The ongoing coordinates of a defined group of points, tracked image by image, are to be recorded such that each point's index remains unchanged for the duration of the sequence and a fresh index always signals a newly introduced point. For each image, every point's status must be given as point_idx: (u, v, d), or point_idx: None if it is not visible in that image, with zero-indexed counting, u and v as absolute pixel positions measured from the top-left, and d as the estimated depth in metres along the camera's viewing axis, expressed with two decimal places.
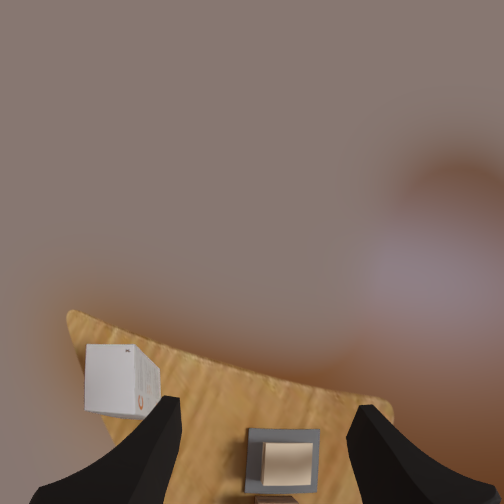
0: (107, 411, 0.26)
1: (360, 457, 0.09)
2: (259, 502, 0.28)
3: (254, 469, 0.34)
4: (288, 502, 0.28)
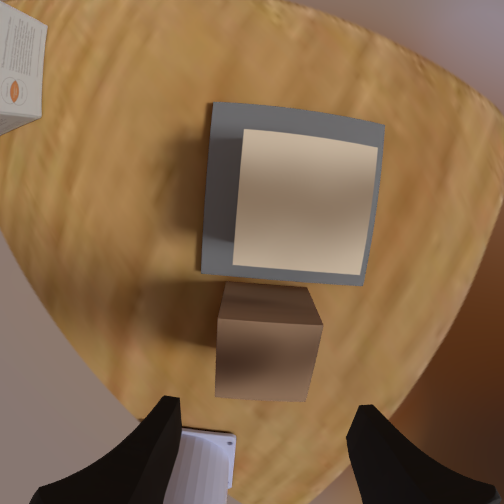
0: None
1: (360, 457, 0.09)
2: (222, 314, 0.15)
3: (223, 212, 0.17)
4: (297, 320, 0.15)
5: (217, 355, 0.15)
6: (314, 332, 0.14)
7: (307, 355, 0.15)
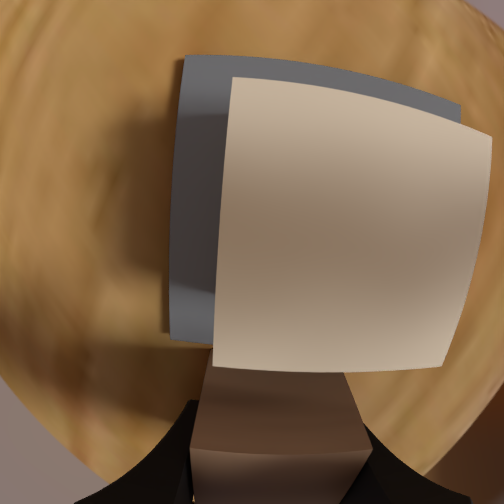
0: None
1: None
2: (198, 436, 0.07)
3: (202, 244, 0.10)
4: (330, 441, 0.07)
5: (194, 485, 0.07)
6: (356, 458, 0.07)
7: (340, 482, 0.07)
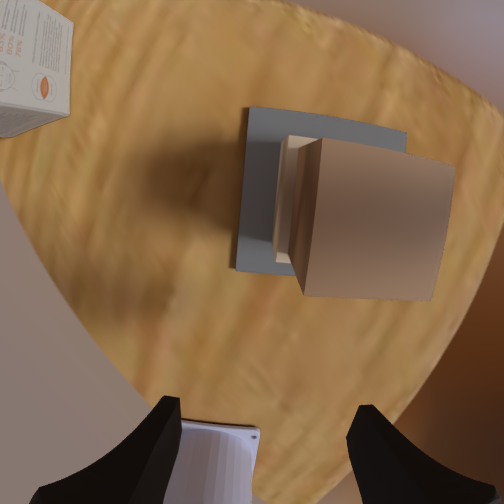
0: None
1: (360, 457, 0.09)
2: None
3: (259, 212, 0.18)
4: None
5: (317, 207, 0.09)
6: (446, 175, 0.09)
7: (439, 213, 0.09)
